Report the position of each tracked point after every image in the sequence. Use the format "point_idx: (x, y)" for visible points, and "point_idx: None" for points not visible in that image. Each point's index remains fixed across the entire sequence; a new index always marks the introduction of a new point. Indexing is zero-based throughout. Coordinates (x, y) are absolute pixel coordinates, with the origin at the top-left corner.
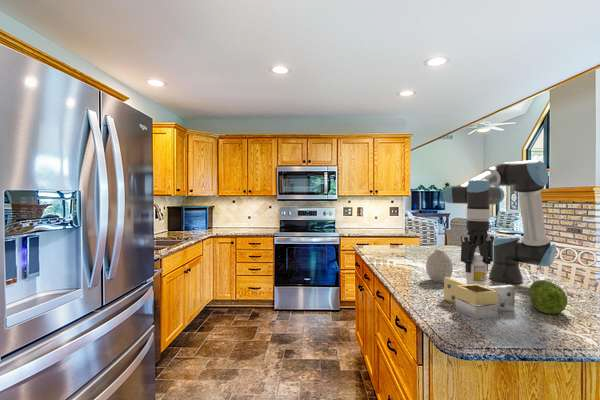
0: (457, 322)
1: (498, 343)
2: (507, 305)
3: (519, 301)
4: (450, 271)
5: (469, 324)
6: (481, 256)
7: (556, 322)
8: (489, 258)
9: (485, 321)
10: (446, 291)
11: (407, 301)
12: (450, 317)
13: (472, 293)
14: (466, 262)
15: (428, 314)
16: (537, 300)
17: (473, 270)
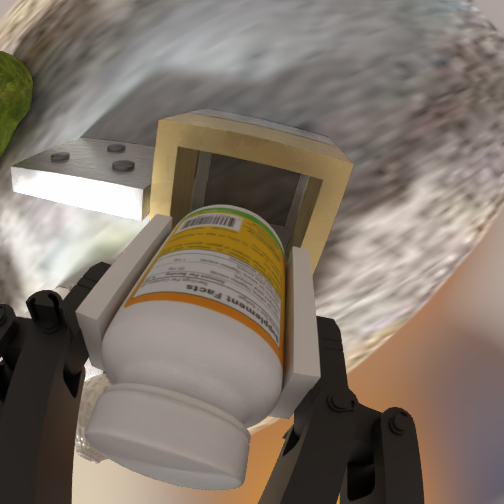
0: (419, 160)
1: (450, 5)
2: (94, 145)
3: (16, 192)
4: (89, 392)
5: (400, 123)
6: (115, 442)
7: (69, 16)
8: (6, 349)
9: (310, 101)
10: None
11: (363, 350)
12: (394, 202)
13: (341, 190)
14: (399, 413)
15: (425, 258)
16: (14, 94)
17: (297, 316)
